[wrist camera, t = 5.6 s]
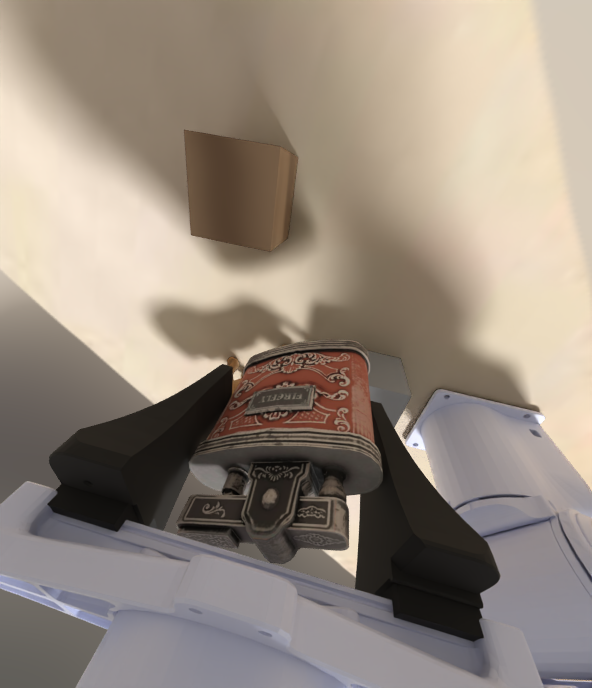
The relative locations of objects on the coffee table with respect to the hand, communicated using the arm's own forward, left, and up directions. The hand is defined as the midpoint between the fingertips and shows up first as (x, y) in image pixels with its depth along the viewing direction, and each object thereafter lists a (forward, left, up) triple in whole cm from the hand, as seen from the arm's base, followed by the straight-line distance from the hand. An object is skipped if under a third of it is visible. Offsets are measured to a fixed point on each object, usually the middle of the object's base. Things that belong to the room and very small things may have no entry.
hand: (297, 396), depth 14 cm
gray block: (-5, +4, -10) cm, 12 cm away
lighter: (0, 0, -3) cm, 3 cm away
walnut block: (+6, -9, -10) cm, 14 cm away
